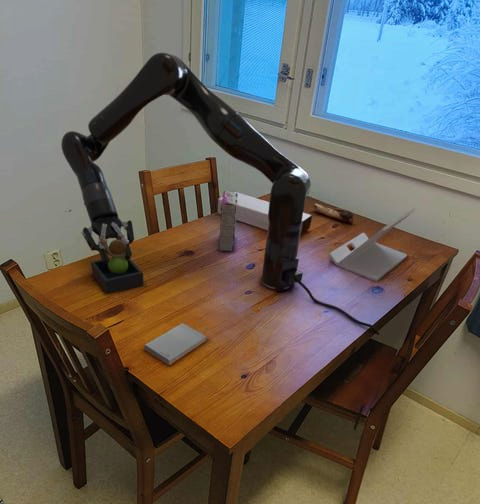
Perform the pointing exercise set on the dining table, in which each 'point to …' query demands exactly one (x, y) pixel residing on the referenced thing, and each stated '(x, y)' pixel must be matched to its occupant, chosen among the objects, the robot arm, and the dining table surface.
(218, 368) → the dining table surface
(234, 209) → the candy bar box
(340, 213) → the wooden log
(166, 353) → the hard drive
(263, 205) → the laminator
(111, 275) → the holder
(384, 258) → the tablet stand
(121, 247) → the snail figurine
